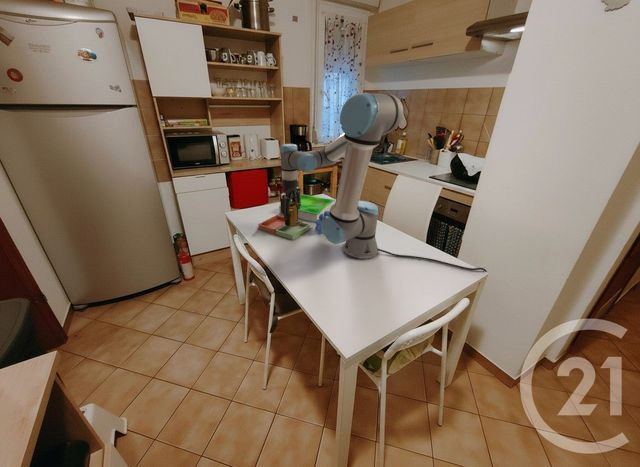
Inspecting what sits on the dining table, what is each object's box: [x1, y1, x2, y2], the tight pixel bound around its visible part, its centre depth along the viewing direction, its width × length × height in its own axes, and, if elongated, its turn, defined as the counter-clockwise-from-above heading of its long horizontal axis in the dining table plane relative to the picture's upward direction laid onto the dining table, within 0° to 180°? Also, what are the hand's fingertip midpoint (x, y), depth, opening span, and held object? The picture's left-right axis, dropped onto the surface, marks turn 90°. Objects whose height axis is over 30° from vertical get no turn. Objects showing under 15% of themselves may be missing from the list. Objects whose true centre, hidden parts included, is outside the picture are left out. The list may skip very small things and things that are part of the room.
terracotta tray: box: [257, 214, 285, 235], centre depth 142 cm, size 11×15×2 cm
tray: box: [278, 193, 336, 223], centre depth 161 cm, size 25×25×5 cm
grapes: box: [314, 211, 329, 235], centre depth 134 cm, size 12×7×12 cm, turn 129°
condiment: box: [283, 201, 303, 228], centre depth 132 cm, size 7×8×12 cm
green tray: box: [275, 221, 311, 241], centre depth 137 cm, size 11×15×2 cm
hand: (291, 222), depth 134 cm, fingers closed on condiment, 6 cm apart
